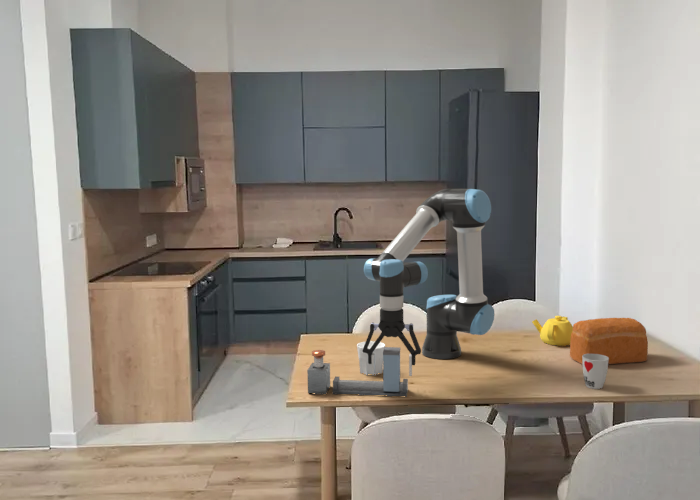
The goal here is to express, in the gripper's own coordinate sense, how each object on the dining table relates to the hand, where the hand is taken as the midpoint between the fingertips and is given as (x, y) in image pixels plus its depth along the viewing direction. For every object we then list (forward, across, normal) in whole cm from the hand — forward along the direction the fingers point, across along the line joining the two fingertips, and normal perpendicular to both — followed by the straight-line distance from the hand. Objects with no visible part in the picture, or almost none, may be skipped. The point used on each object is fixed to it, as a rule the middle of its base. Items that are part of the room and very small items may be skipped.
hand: (391, 374), depth 209 cm
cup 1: (+6, +9, -21) cm, 24 cm away
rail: (+6, +7, 0) cm, 9 cm away
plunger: (+2, +24, 0) cm, 24 cm away
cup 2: (+6, -66, -13) cm, 68 cm away
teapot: (+6, -62, -69) cm, 93 cm away
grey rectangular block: (+5, 0, 0) cm, 5 cm away
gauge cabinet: (+6, +24, 0) cm, 25 cm away
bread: (+6, -78, -45) cm, 90 cm away
